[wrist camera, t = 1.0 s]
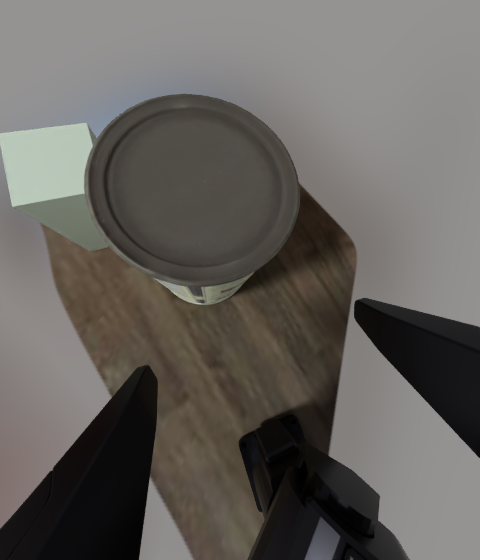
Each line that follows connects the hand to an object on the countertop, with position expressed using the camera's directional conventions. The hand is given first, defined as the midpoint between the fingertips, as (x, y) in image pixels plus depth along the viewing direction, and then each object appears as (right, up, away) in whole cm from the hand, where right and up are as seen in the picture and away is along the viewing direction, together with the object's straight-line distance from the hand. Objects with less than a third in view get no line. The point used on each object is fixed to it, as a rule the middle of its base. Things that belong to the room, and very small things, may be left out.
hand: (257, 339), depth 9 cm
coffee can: (-5, +5, +15) cm, 17 cm away
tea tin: (-15, +9, +14) cm, 22 cm away
